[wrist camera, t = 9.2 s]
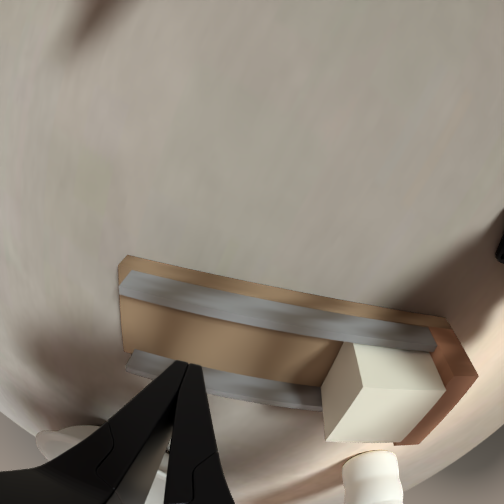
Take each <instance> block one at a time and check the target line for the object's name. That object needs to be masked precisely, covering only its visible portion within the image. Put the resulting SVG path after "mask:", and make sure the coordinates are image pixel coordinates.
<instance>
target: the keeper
mask: <svg viewBox="0 0 504 504" xmlns="http://www.w3.org/2000/svg"><path fill="white" fill-rule="evenodd" d="M445 391H446V389H445V387H444V384H443V382H442V380H441V377H440V375H439V373H438V370H437V368H436V366H435V364H434V362H433V359H432V357H431V355H430V353H429V352H426V351H416V350H406V349H397V348H389V347H381V346H373V345H365V344H358V343H351V342H344V343H343V345H342V347H341V349H340V351H339V353H338V355H337V357H336V359H335V361H334V363H333V365H332V367H331V369H330V371H329V373H328V375H327V376H326V378H325V380H324V382H323V384H322V386H321V396H322V408H323V420H324V433H325V441H328V442H352V443H390V442H401V441H402V440H403V439H404V438H405V437H406V436H407V435H408V434H409V433H410V432H411V431H412V430H413V429H414V427H415V426H416V425H417V424H418V423H419V422H420V421H421V420H422V419H423V418H424V416H425V415H426V414H427V413H428V412H429V411H430V409H431V408H432V407H433V406H434V405H435V404H436V402H437V401H438V400H439V399H440V397H441V396H442V395H443V394H444V393H445Z"/></svg>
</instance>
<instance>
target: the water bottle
mask: <svg viewBox="0 0 504 504" xmlns="http://www.w3.org/2000/svg"><path fill="white" fill-rule="evenodd" d="M342 478H343V484H344V488H345V495H344V504H403V502H402V501H403V490H402V485H401V482H400V480H399V469H398V462H397V458H396V455H395V454H394V453H392V452H390V451H385V450H376V451H370V452H366V453H362V454H359V455H357V456H355V457H353V458H351V459H350V460H348V461H347V462H346V463H345V464H344V465H343V467H342Z"/></svg>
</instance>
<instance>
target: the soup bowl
mask: <svg viewBox="0 0 504 504" xmlns="http://www.w3.org/2000/svg"><path fill="white" fill-rule="evenodd" d="M99 427H100V426H92V425H80V426H72V427H68V428H64V429H61V430H59V431H57V432H56V431H41V432H39V433H38V434H37V435H36V438H35V441H36V444H37V446H38V448H39V450H40V451H41V453H42V454H43V455H44V456H45V457H46V459H47V460H49V461H51V460H52V459H54V458H56V457H57V456H59V455H60V454H62V453H64V452H65V451H67V450H68V449H70V448H72V447H73V446H75V445H76V444H78V443H79V442H81V441H82V440H84V439H85V438H87V437H88V436H89V435H91V434H92V433H93V432H94V431H96V430H97V429H98V428H99ZM168 459H169V454H167V453H166V452H165V454H164V456H163V459H162V461H161V464H160V466H159V469H158V471H157V474H156V476H155V479H154V481H153V484H152V486H151V489H150V491H149V494H148V496H147V499H146V501H145V504H163V502H164V493H165V484H166V476H167V467H168Z"/></svg>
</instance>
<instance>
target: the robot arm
mask: <svg viewBox="0 0 504 504" xmlns="http://www.w3.org/2000/svg"><path fill="white" fill-rule="evenodd" d="M501 255H502V256H501ZM496 259H497V260H498V261H499V262H500V263H503V264H504V235H503V238H502V240H501V243H500V245H499V247H498V250H497V252H496ZM108 422H109V423H108ZM108 422H107V421H106V422H105V423H104V424H103V425H102V426H101V427H99V428H98V429H97V430H96V431H94V432H93V433H92V434H91V435H89V436H88V437H87V438H85V439H84V440H82V441H81V442H79V443H78V444H76V445H75V446H73V447H72V448H70V449H68V450H67V451H65V452H64V453H62V454H60V455H59V456H57V457H56V458H54V459H52V460H51V461H49V462H47V463H45V464H43V465H41V466H38V467H35V468H30V469H22V470H13V471H3V472H0V504H145V501H146V499H147V496H148V494H149V491H150V489H151V486H152V484H153V481H154V479H155V476H156V474H157V471H158V469H159V466H160V464H161V461H162V459H163V456H164V454H165V451H166V449H167V446H168V444H169V441H170V439H171V444H170V452H169V459H168V467H167V476H166V484H165V493H164V502H163V504H235V502H234V500H233V498H232V495H231V493H230V491H229V488H228V485H227V483H226V480H225V477H224V474H223V470H222V466H221V462H220V458H219V453H218V449H217V444H216V439H215V435H214V430H213V425H212V419H211V414H210V409H209V404H208V398H207V393H206V387H205V381H204V376H203V370H202V366H201V365H198V364H193V363H190V364H189V363H188V362H185V361H181V360H175V361H174V362H173V363H172V364H171V365H170V366H169V367H167V368H166V369H165V370H164V371H163V372H162V373H161V374H160V375H159V376H157V377H156V378H155V379H154V380H153V381H152V382H151V383H150V384H149V385H147V386H146V387H145V388H144V389H143V390H142V391H141V392H140V393H138V394H137V395H136V396H135V397H134V398H133V399H132V400H130V401H129V402H128V403H127V404H126V405H125V406H124V407H123V408H121V409H120V410H119V411H118V412H117V413H116V414H115V415H113V416H112V417H111V418H110V419H109V420H108ZM171 436H172V437H171Z"/></svg>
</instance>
